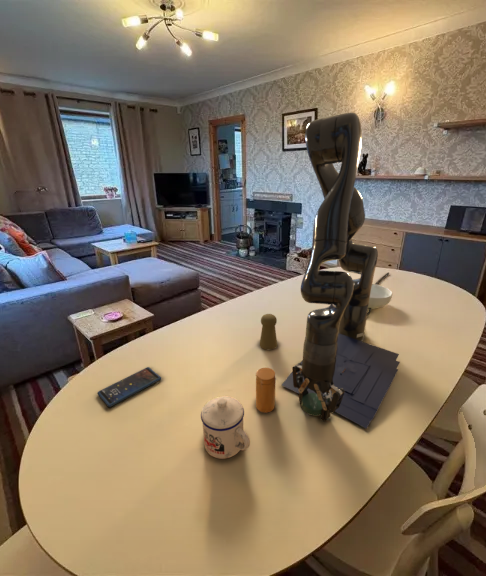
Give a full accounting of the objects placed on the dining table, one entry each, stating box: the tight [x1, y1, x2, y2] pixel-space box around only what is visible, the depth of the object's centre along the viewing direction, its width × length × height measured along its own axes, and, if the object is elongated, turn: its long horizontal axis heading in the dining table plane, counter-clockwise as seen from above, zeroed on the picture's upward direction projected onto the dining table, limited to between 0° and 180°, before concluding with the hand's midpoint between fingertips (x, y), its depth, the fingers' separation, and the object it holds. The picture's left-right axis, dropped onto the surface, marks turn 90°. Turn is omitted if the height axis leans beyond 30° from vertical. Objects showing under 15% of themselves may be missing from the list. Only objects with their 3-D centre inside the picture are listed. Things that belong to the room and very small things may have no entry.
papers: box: [281, 333, 401, 429], centre depth 88 cm, size 24×30×4 cm
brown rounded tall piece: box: [259, 313, 278, 351], centre depth 102 cm, size 6×6×11 cm
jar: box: [255, 367, 277, 413], centre depth 76 cm, size 5×5×10 cm
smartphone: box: [96, 366, 162, 408], centre depth 84 cm, size 8×1×15 cm
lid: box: [300, 393, 323, 417], centre depth 75 cm, size 6×6×2 cm
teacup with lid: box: [200, 395, 251, 460], centre depth 65 cm, size 12×9×12 cm
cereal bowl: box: [368, 283, 393, 310], centre depth 131 cm, size 17×17×7 cm
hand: (313, 410), depth 76 cm, fingers closed on lid, 6 cm apart
